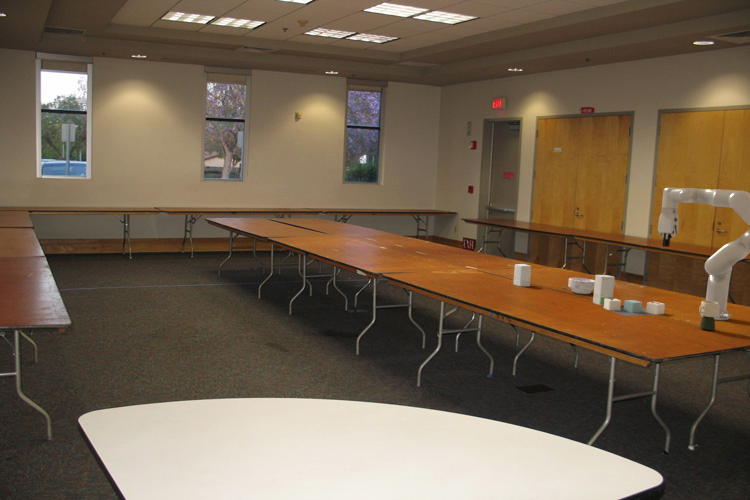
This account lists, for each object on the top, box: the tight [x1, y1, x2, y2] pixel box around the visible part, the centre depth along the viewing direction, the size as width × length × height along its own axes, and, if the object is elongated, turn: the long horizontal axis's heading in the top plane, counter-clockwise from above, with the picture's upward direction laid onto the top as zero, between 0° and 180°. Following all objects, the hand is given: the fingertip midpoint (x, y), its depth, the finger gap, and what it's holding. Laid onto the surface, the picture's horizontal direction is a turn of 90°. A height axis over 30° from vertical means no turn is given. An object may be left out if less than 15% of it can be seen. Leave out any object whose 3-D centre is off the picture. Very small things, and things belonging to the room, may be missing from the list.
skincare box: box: [592, 274, 616, 306], centre depth 352 cm, size 8×7×16 cm
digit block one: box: [645, 301, 666, 315], centre depth 334 cm, size 6×6×5 cm
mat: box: [602, 306, 656, 317], centre depth 337 cm, size 18×24×1 cm
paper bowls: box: [567, 277, 595, 295], centre depth 384 cm, size 15×15×8 cm
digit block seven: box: [603, 297, 622, 311], centre depth 339 cm, size 6×6×5 cm
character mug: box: [698, 300, 720, 331], centre depth 303 cm, size 11×7×13 cm, turn 106°
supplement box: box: [513, 263, 532, 287], centre depth 400 cm, size 7×7×13 cm
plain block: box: [623, 299, 643, 313], centre depth 336 cm, size 6×6×5 cm
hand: (665, 246), depth 344 cm, fingers closed
